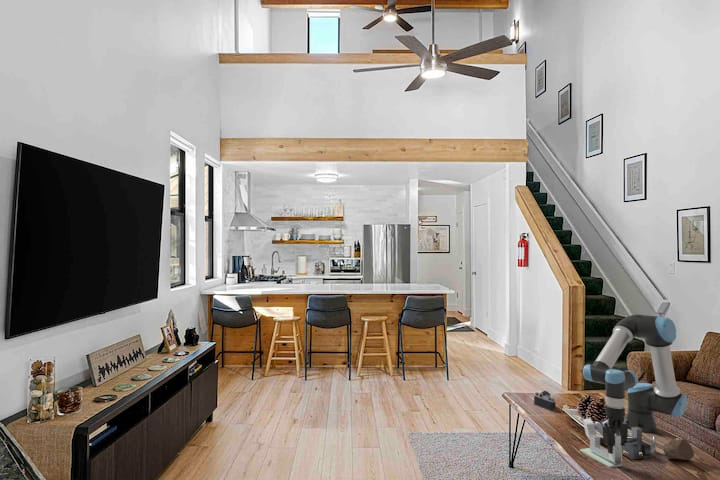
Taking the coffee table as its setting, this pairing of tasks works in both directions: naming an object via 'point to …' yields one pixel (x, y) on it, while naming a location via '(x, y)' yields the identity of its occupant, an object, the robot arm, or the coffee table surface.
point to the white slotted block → (603, 451)
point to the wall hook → (592, 427)
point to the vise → (638, 445)
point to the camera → (544, 400)
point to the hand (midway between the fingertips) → (615, 459)
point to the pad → (599, 458)
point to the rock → (678, 449)
